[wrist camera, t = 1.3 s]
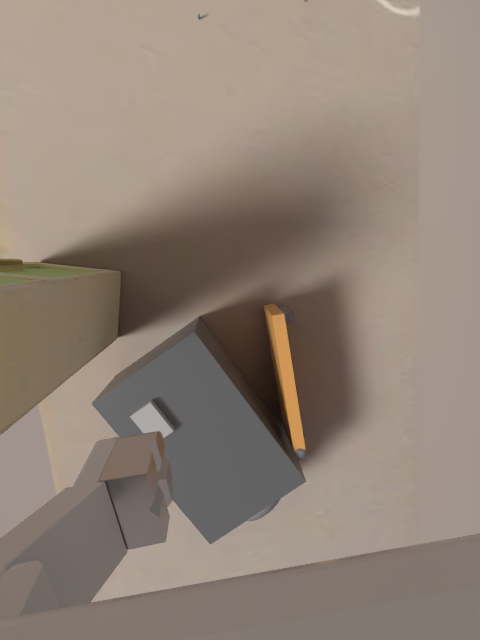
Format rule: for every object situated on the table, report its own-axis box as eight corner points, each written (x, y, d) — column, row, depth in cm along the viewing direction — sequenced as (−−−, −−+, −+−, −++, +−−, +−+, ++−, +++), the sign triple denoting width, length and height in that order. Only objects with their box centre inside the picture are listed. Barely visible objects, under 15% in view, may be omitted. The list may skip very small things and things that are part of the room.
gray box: (298, 451, 38) (317, 498, 31) (220, 503, 39) (220, 562, 32) (199, 316, 35) (193, 333, 28) (116, 375, 36) (89, 406, 29)
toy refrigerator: (124, 262, 34) (-21, 274, 14) (120, 339, 35) (-20, 457, 15) (36, 252, 34) (-256, 249, 13) (34, 330, 35) (-234, 441, 14)
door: (301, 424, 38) (315, 456, 32) (283, 427, 38) (295, 460, 32) (281, 302, 35) (294, 311, 29) (263, 305, 35) (271, 315, 29)
